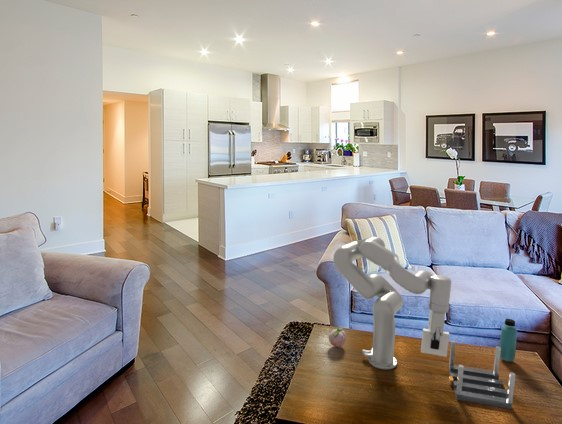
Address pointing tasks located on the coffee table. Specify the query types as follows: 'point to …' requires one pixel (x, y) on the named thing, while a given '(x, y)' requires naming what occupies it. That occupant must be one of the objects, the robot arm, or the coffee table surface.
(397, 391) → the coffee table surface
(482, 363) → the coffee table surface
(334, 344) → the decorative fruit
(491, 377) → the rack
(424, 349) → the block
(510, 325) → the beverage bottle
